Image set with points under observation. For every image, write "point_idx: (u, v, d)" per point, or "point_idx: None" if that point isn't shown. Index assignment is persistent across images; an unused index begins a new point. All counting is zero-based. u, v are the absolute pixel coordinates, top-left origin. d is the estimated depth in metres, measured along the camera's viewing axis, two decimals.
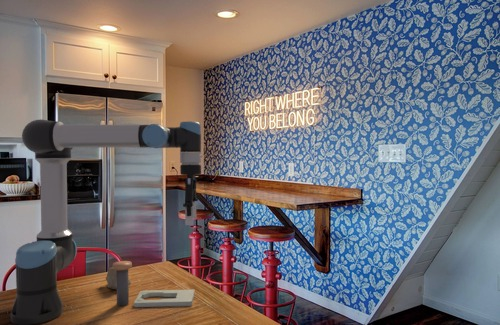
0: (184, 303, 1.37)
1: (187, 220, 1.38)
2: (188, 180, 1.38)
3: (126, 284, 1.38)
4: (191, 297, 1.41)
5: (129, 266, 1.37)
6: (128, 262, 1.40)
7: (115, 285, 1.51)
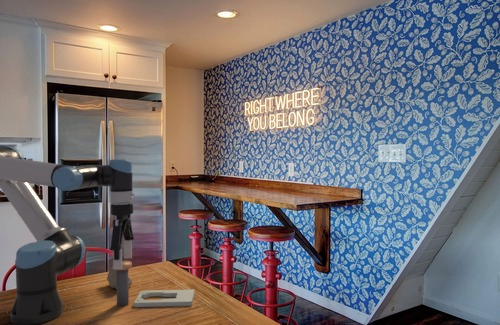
0: (184, 303, 1.37)
1: (115, 264, 1.31)
2: (116, 222, 1.31)
3: (126, 284, 1.38)
4: (191, 297, 1.41)
5: (129, 266, 1.37)
6: (128, 262, 1.40)
7: None
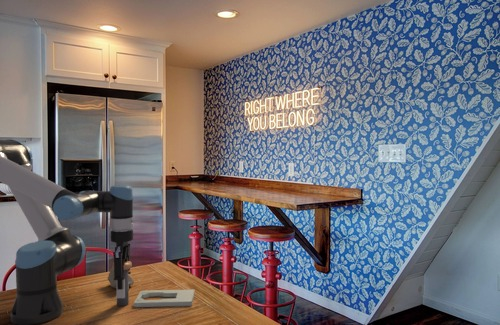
0: (184, 303, 1.37)
1: (118, 293, 1.36)
2: (117, 255, 1.32)
3: (126, 284, 1.38)
4: (191, 297, 1.41)
5: (129, 266, 1.37)
6: (128, 262, 1.40)
7: None
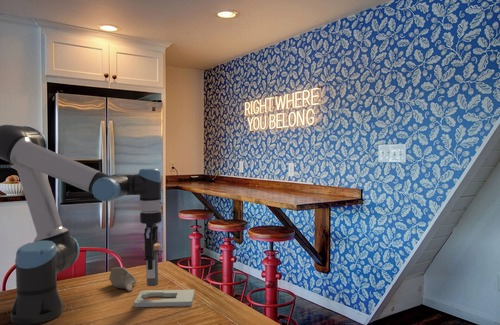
0: (184, 303, 1.37)
1: (148, 273, 1.39)
2: (147, 235, 1.35)
3: (156, 265, 1.41)
4: (191, 297, 1.41)
5: (158, 247, 1.41)
6: (157, 243, 1.43)
7: (124, 284, 1.52)
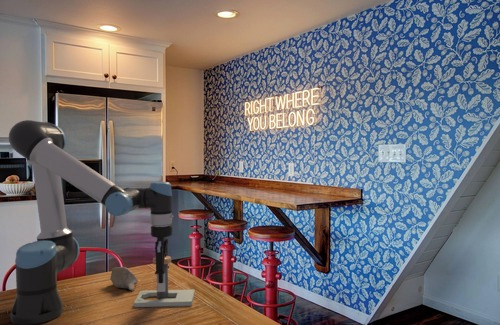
0: (184, 303, 1.37)
1: (159, 287, 1.40)
2: (158, 249, 1.36)
3: (166, 278, 1.41)
4: (191, 297, 1.41)
5: (169, 260, 1.41)
6: (167, 257, 1.43)
7: (126, 284, 1.52)
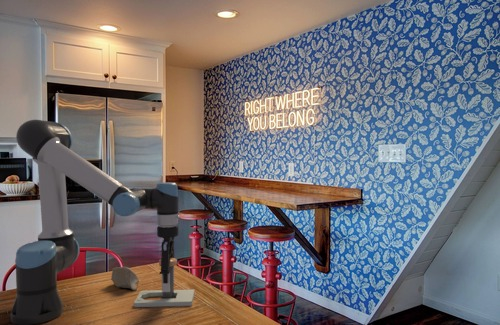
0: (184, 303, 1.37)
1: (164, 287, 1.37)
2: (164, 247, 1.35)
3: (172, 280, 1.41)
4: (191, 297, 1.41)
5: (175, 263, 1.41)
6: (173, 259, 1.44)
7: (128, 283, 1.52)
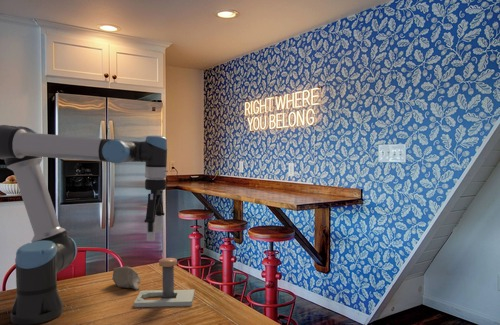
0: (184, 303, 1.37)
1: (148, 236, 1.36)
2: (151, 196, 1.37)
3: (172, 280, 1.41)
4: (191, 297, 1.41)
5: (175, 263, 1.41)
6: (173, 259, 1.44)
7: (131, 283, 1.53)
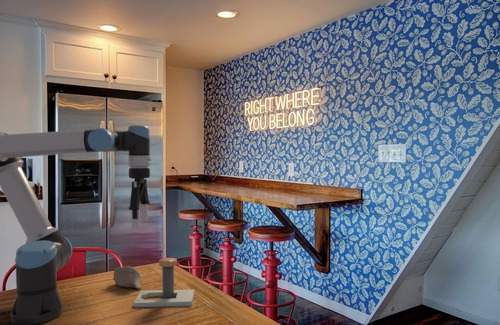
0: (184, 303, 1.37)
1: (133, 223, 1.39)
2: (135, 184, 1.39)
3: (172, 280, 1.41)
4: (191, 297, 1.41)
5: (175, 263, 1.41)
6: (173, 259, 1.44)
7: (133, 283, 1.53)
